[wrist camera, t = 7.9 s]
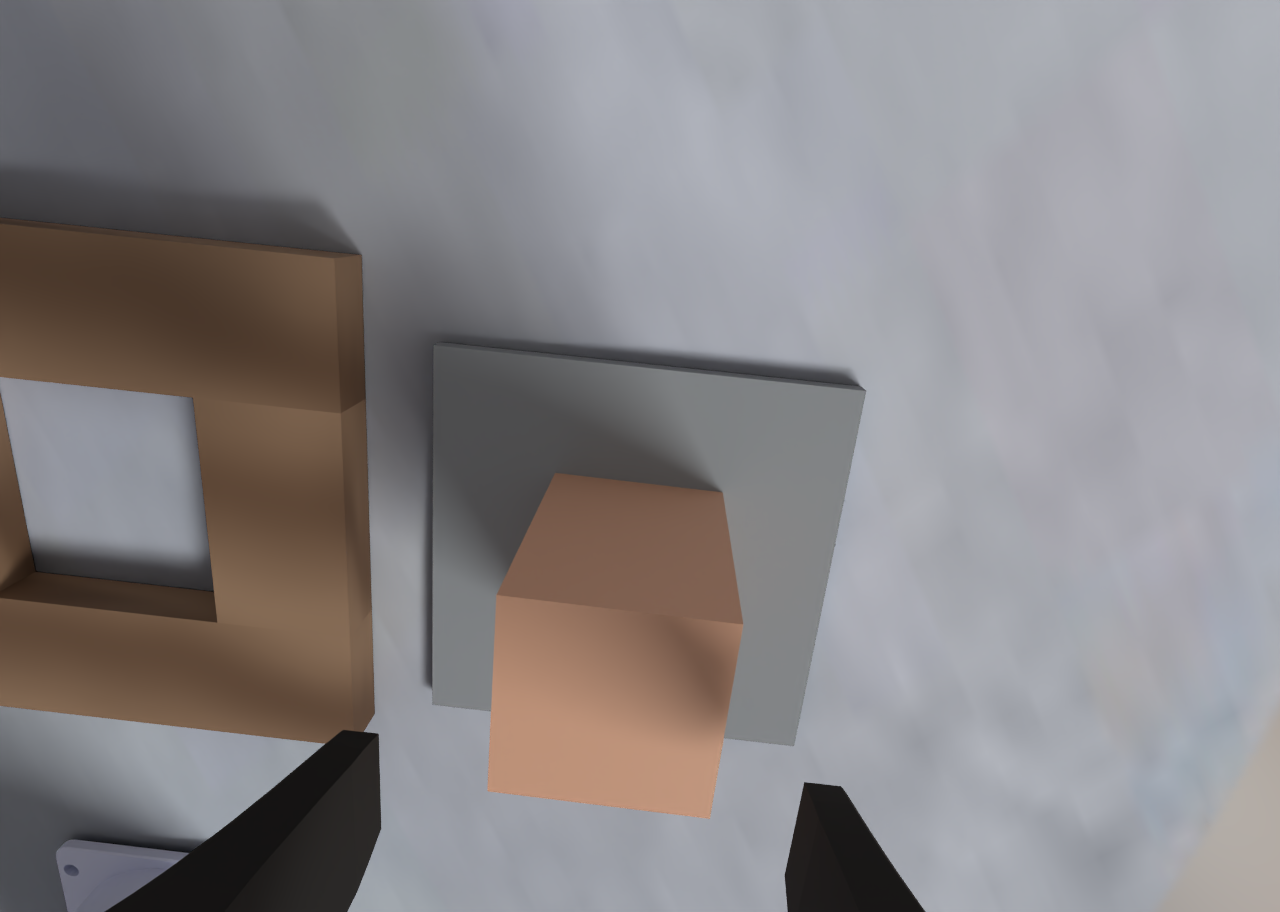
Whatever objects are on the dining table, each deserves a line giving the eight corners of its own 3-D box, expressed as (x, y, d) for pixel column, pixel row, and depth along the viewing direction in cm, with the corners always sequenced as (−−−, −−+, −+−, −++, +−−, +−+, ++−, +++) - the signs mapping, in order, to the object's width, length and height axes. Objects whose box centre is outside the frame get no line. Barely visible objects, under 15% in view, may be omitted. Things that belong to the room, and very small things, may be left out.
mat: (791, 734, 22) (793, 746, 22) (437, 693, 22) (432, 704, 22) (861, 386, 18) (866, 391, 18) (439, 341, 19) (433, 344, 18)
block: (700, 637, 21) (709, 818, 14) (545, 618, 21) (487, 790, 14) (722, 492, 19) (743, 624, 13) (555, 472, 19) (496, 594, 13)
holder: (374, 713, 23) (354, 746, 21) (-59, 663, 23) (-108, 693, 21) (361, 254, 18) (334, 258, 17) (-179, 199, 18) (-251, 197, 17)
